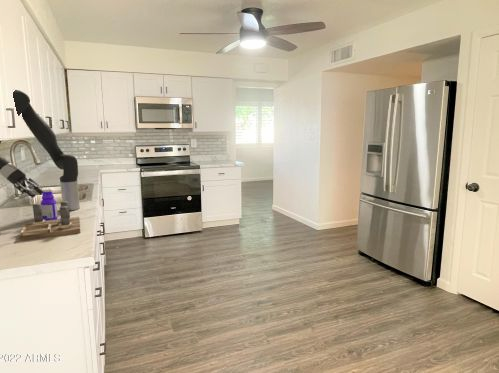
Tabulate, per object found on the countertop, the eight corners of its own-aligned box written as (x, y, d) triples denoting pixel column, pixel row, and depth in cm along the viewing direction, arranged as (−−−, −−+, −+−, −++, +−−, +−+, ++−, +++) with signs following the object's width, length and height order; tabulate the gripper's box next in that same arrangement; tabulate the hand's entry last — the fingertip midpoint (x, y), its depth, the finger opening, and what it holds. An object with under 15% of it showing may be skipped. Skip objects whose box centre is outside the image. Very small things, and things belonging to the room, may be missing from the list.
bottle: (60, 219, 185) (56, 187, 182) (54, 222, 179) (50, 189, 176) (46, 219, 185) (42, 188, 182) (40, 222, 179) (36, 190, 176)
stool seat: (26, 226, 171) (24, 203, 169) (79, 220, 182) (77, 198, 180) (20, 240, 150) (17, 214, 148) (80, 232, 161) (78, 208, 159)
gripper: (9, 170, 169) (36, 192, 172) (24, 167, 183) (49, 187, 186) (-1, 181, 169) (26, 202, 173) (15, 177, 183) (40, 197, 187)
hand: (38, 194), depth 179 cm, fingers open, 8 cm apart
